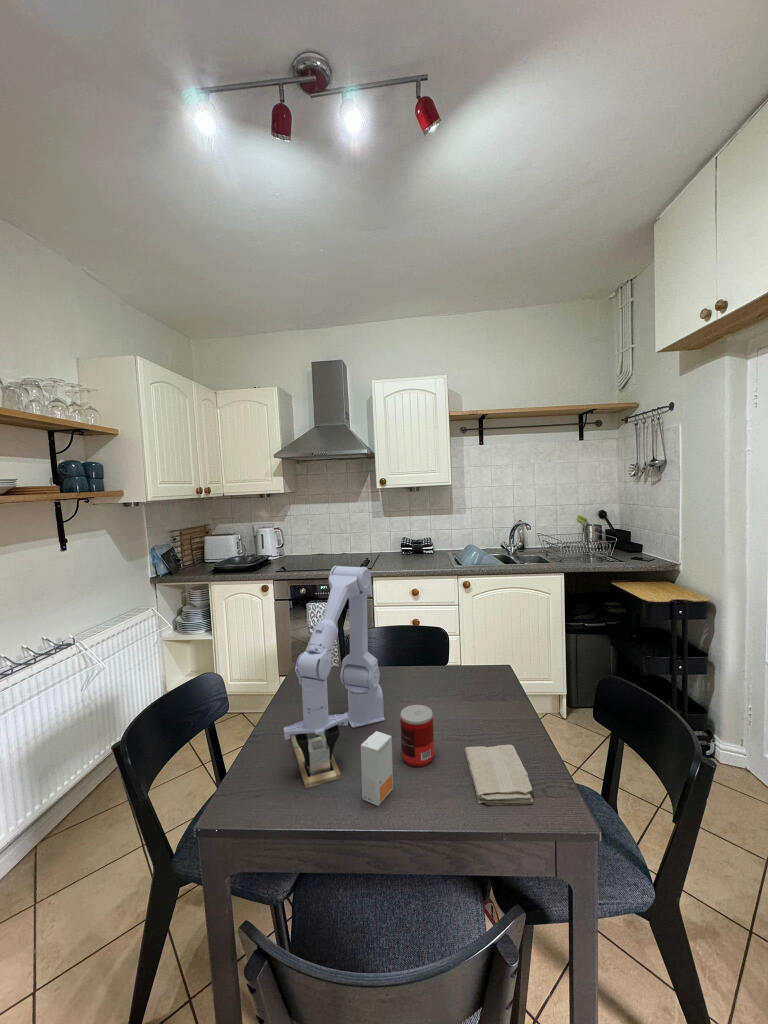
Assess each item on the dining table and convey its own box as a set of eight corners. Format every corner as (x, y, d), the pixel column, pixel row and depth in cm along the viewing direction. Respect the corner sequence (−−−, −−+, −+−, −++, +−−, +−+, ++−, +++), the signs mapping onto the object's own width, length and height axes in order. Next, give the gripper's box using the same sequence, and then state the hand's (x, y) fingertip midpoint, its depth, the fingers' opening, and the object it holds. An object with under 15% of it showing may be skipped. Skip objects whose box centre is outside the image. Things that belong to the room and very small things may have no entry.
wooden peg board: (318, 724, 120) (317, 720, 120) (340, 778, 98) (340, 773, 98) (288, 731, 117) (288, 726, 117) (305, 788, 95) (305, 783, 95)
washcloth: (478, 809, 88) (478, 794, 88) (462, 754, 106) (462, 741, 105) (537, 807, 88) (537, 792, 88) (511, 752, 106) (511, 740, 105)
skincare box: (379, 807, 89) (376, 750, 88) (361, 800, 91) (359, 744, 90) (394, 789, 94) (392, 735, 93) (377, 782, 96) (375, 730, 95)
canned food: (437, 749, 107) (435, 706, 106) (429, 770, 99) (428, 724, 99) (407, 744, 109) (405, 702, 109) (397, 764, 102) (396, 719, 101)
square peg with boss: (325, 761, 104) (324, 736, 103) (330, 773, 100) (329, 746, 99) (307, 766, 102) (305, 740, 102) (310, 778, 98) (309, 751, 98)
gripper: (285, 719, 94) (288, 780, 94) (350, 705, 99) (353, 762, 100) (281, 704, 100) (284, 761, 101) (342, 691, 105) (344, 745, 106)
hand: (318, 760), depth 101 cm, fingers closed on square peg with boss, 4 cm apart
